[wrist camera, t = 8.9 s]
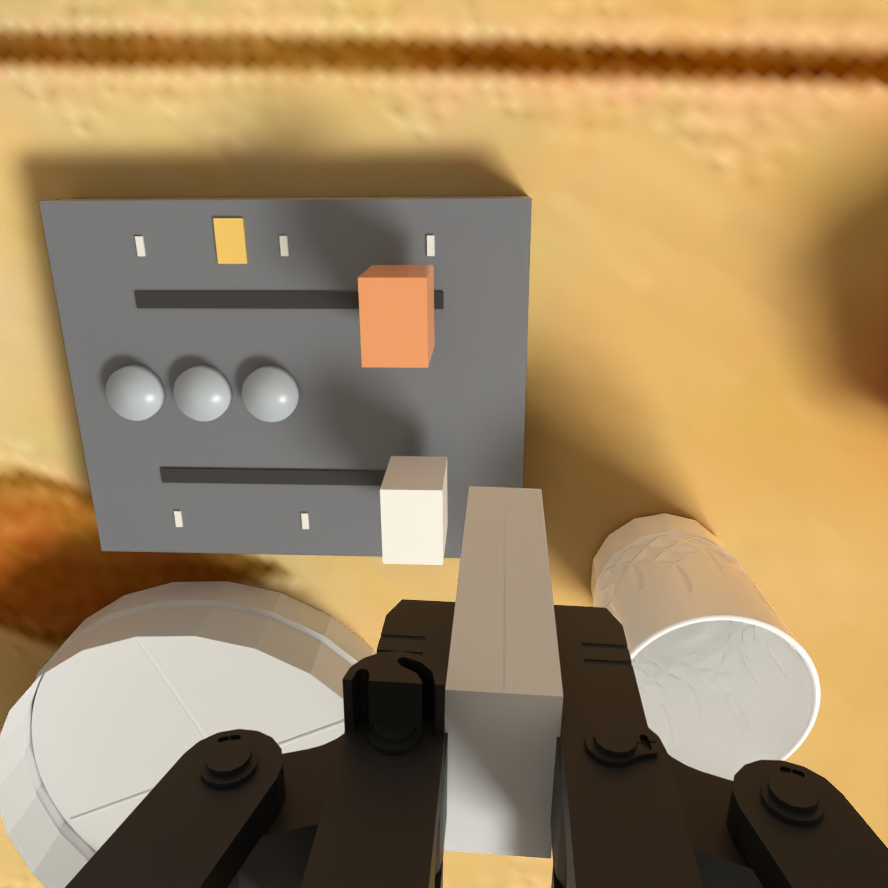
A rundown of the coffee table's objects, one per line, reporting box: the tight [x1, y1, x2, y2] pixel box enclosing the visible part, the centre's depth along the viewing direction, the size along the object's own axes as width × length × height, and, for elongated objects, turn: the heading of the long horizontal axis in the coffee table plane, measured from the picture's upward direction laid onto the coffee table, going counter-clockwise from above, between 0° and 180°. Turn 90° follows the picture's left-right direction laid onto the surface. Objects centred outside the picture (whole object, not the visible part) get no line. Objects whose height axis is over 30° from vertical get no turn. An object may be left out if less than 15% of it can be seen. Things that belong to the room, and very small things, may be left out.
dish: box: [0, 581, 377, 888], centre depth 41 cm, size 22×22×5 cm
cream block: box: [380, 456, 448, 565], centre depth 32 cm, size 2×3×5 cm
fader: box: [358, 265, 435, 368], centre depth 29 cm, size 2×3×5 cm
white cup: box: [591, 513, 821, 781], centre depth 34 cm, size 8×8×10 cm
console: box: [39, 196, 532, 558], centre depth 34 cm, size 20×16×3 cm
